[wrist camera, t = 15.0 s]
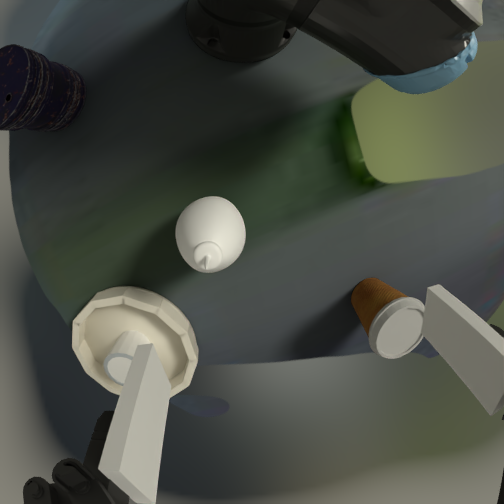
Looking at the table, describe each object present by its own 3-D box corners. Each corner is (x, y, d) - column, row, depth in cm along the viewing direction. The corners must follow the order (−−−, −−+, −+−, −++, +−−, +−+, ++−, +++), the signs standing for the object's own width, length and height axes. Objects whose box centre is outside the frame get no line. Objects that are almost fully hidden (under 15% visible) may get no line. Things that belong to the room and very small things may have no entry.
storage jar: (24, 110, 32) (-39, 104, 18) (61, 58, 30) (5, 31, 16) (59, 145, 34) (-5, 148, 20) (99, 89, 33) (45, 65, 19)
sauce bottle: (228, 181, 39) (233, 204, 22) (249, 234, 42) (269, 292, 25) (174, 204, 39) (140, 243, 22) (197, 255, 42) (184, 324, 25)
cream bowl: (63, 296, 42) (53, 307, 38) (176, 274, 42) (172, 286, 39) (109, 388, 48) (104, 402, 45) (210, 378, 49) (210, 394, 45)
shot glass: (109, 345, 44) (96, 371, 38) (126, 319, 43) (114, 345, 36) (143, 366, 46) (135, 394, 39) (162, 342, 45) (155, 370, 38)
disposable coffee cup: (343, 326, 48) (371, 369, 37) (340, 276, 45) (373, 314, 34) (391, 311, 49) (426, 348, 37) (392, 262, 45) (434, 293, 34)
